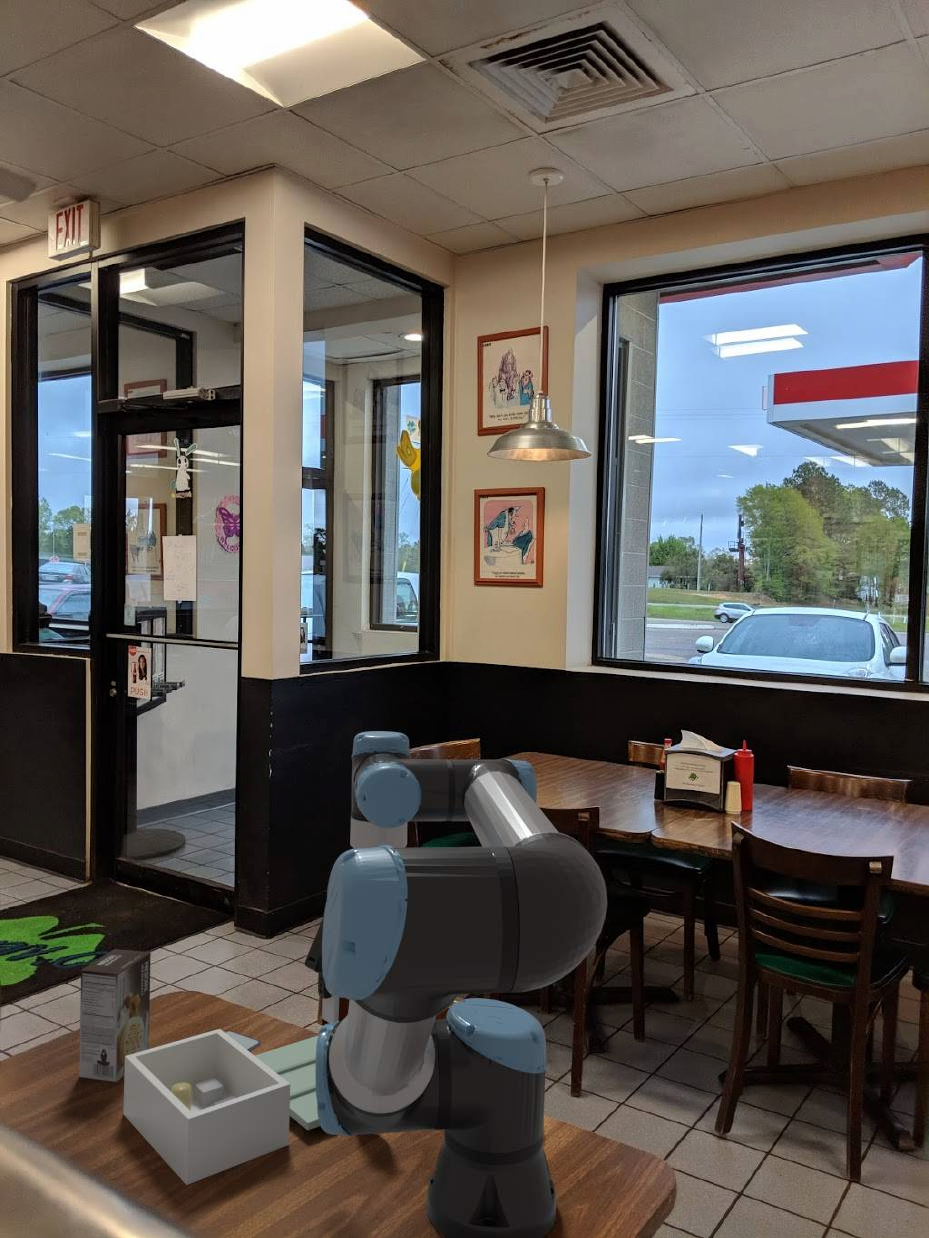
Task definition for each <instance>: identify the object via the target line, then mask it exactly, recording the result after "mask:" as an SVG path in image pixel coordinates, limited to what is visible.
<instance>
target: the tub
mask: <svg viewBox="0 0 929 1238" xmlns="http://www.w3.org/2000/svg"><path fill="white" fill-rule="evenodd" d="M225 1032H226V1031H224V1030H222V1029H221V1028H218V1029H215V1030H210V1031H208V1032H203V1033H200V1034H196V1035H193V1036H189V1037H187V1038H182V1039H180V1040H177V1041H172V1042H169V1043H166V1044H163V1045H159V1046H155V1047H152V1048H149V1049H148V1050H144V1051H141V1052H137V1053H134V1054H131V1055H127V1056H125V1075H124V1076H123V1077H124V1078H123V1079H124V1080H123V1081H124V1084H123V1115H124V1117H125V1118H126V1119H127V1121H129V1122H130V1124H131V1125H132V1126H133V1127H134V1128H135V1130H137V1131H138V1132H139V1133H140V1135H142V1136H143V1138H144V1139H145V1140H146V1141H147V1142H148V1144H149V1145H150V1146H151V1147H152V1148H153V1149H154V1151H156V1153H157V1154H158V1155H159V1156H160V1157H161V1158H162V1160H164V1162H165V1163H166V1164H167V1165H168V1166H169V1167H170V1169H172V1171H174V1173H175V1174H176V1175H177V1176H178V1177H179V1178H180V1180H181V1181H182V1182H183V1183H184V1184H185V1185H186V1186H188V1185H191V1184H193V1183H195V1182H197V1181H201V1180H203V1179H205V1178H208V1177H211V1176H214V1175H216V1174H218V1173H221V1172H223V1171H227V1170H229V1169H231V1168H234V1167H236V1166H239V1165H241V1164H244V1163H246V1162H249V1161H251V1160H254V1159H257V1158H259V1157H261V1156H264V1155H267V1154H269V1153H272V1152H274V1151H277V1150H280V1149H281V1148H284V1147H288V1146H289V1143H290V1139H289V1137H290V1115H289V1114H290V1083H289V1082H287V1081H286V1080H285V1079H283V1078H282V1077H281V1076H280V1075H278V1074H277V1073H276V1072H275V1071H273V1070H272V1069H271V1068H269V1067H268V1066H267V1065H266V1064H264V1063H263V1062H262V1061H261V1060H259V1059H258V1058H257V1057H255V1055H254V1054H253V1053H252V1052H251V1051H250V1052H249V1051H248V1050H247V1049H245V1048H244V1047H243V1046H241V1045H240V1044H239V1043H238V1042H236V1041H235V1040H234V1039H233V1038H231V1037H230V1036H229V1035H227V1034H226V1033H225Z"/></svg>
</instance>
